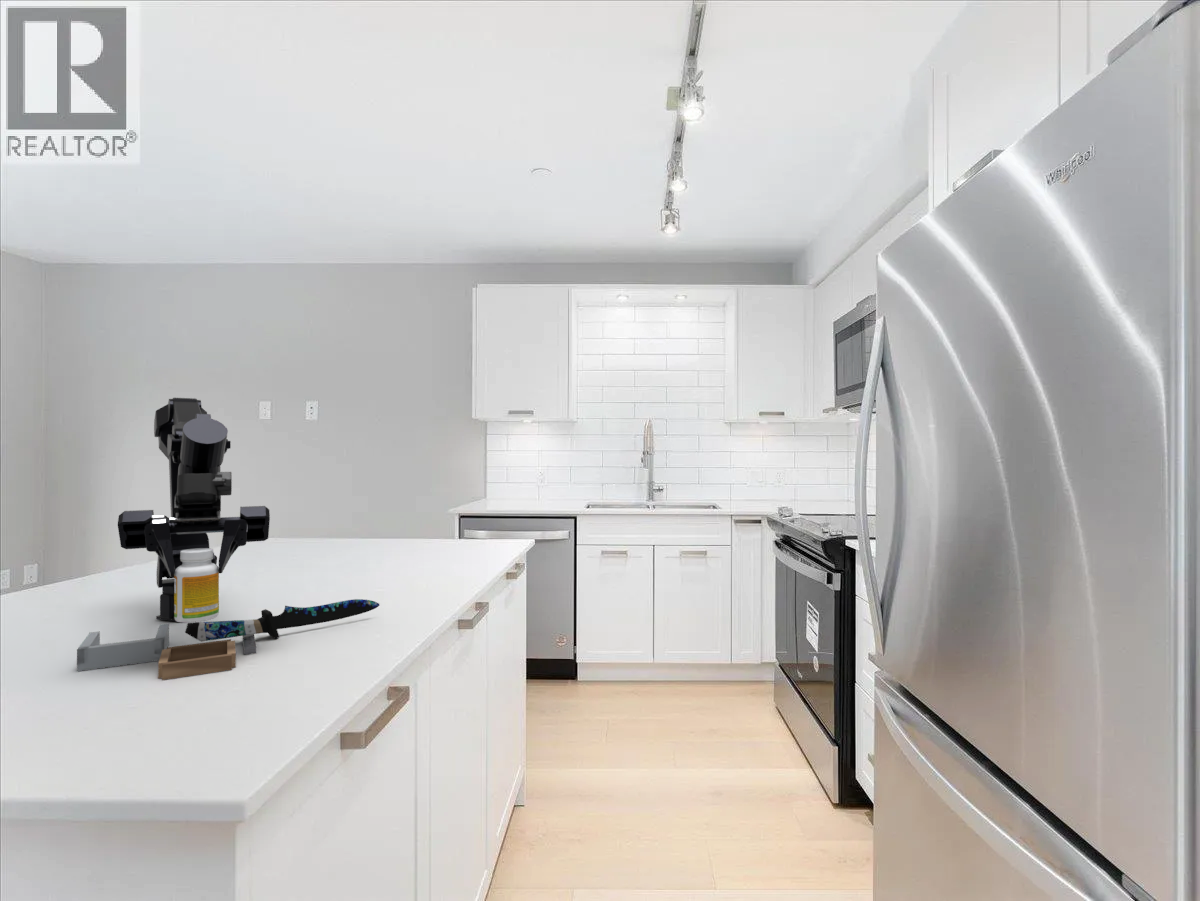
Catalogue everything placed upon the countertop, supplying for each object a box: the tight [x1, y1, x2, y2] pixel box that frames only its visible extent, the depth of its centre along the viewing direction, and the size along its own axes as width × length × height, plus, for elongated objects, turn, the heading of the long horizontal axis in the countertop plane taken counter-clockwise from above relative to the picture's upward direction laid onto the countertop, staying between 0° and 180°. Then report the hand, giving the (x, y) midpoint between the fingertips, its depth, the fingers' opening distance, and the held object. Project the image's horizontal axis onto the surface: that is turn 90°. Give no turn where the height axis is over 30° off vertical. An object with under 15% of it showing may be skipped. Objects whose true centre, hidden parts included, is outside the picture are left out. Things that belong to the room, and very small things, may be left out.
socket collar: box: [157, 638, 237, 681], centre depth 92 cm, size 9×9×2 cm
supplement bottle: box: [173, 547, 220, 624], centre depth 92 cm, size 5×5×10 cm
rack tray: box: [76, 623, 170, 672], centre depth 96 cm, size 10×10×3 cm
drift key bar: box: [242, 634, 257, 655], centre depth 101 cm, size 8×2×1 cm, turn 30°
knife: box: [184, 598, 380, 643], centre depth 108 cm, size 31×3×4 cm, turn 132°
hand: (196, 573), depth 91 cm, fingers closed on supplement bottle, 5 cm apart
